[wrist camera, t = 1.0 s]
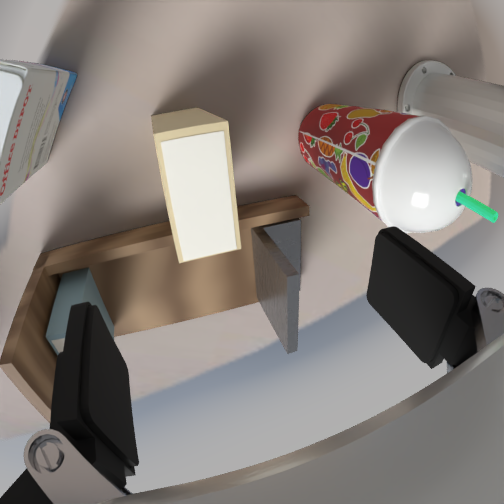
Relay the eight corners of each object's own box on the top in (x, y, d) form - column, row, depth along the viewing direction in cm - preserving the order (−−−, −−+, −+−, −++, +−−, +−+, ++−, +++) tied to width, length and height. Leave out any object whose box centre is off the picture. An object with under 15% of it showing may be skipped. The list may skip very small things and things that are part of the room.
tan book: (197, 107, 25) (228, 121, 16) (208, 192, 29) (241, 249, 20) (151, 115, 24) (153, 134, 15) (166, 201, 28) (179, 263, 19)
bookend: (297, 216, 33) (343, 261, 25) (297, 286, 37) (334, 337, 30) (250, 226, 31) (287, 277, 24) (256, 297, 36) (287, 354, 29)
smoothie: (282, 175, 31) (430, 296, 14) (287, 91, 27) (475, 134, 10) (352, 173, 33) (501, 269, 17) (360, 99, 29) (536, 153, 13)
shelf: (295, 195, 32) (384, 271, 20) (296, 287, 39) (359, 376, 27) (40, 253, 26) (-3, 365, 14) (82, 339, 33) (77, 449, 21)
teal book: (88, 267, 28) (77, 330, 21) (114, 326, 32) (114, 391, 25) (62, 273, 28) (45, 337, 20) (90, 331, 32) (86, 395, 24)
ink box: (31, 60, 18) (-36, 52, 8) (79, 73, 20) (32, 67, 10) (2, 152, 21) (-67, 199, 11) (46, 166, 23) (-7, 221, 13)
